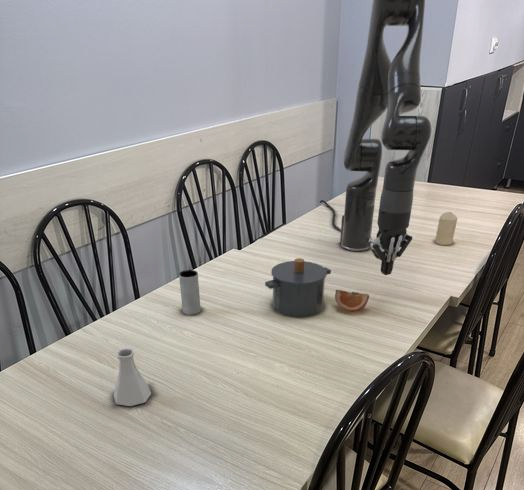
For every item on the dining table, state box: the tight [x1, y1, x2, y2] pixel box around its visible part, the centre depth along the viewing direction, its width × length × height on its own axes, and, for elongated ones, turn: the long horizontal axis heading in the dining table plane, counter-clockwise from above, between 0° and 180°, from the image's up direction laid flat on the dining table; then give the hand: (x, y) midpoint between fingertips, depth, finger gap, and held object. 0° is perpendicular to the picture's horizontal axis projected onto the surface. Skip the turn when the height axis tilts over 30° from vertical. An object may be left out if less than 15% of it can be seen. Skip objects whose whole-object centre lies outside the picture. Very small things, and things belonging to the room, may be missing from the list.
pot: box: [264, 266, 332, 318], centre depth 128 cm, size 13×18×9 cm
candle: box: [435, 211, 458, 246], centre depth 167 cm, size 6×6×10 cm
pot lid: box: [270, 257, 328, 285], centre depth 125 cm, size 14×14×4 cm
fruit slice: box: [334, 289, 370, 313], centre depth 128 cm, size 8×7×5 cm
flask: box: [113, 347, 152, 407], centre depth 95 cm, size 7×7×10 cm
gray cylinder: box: [178, 269, 201, 316], centre depth 125 cm, size 4×4×10 cm
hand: (385, 273), depth 130 cm, fingers closed
